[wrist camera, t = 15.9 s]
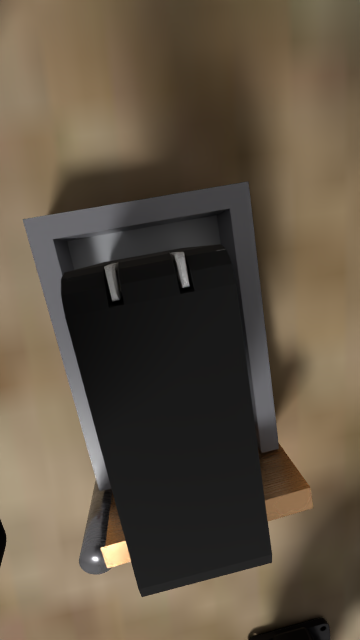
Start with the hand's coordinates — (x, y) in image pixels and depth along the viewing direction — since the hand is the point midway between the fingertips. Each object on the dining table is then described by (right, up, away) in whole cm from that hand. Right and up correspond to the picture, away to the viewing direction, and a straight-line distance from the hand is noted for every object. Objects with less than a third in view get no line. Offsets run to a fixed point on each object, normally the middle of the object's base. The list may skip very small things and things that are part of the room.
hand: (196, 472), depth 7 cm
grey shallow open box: (-1, +2, +11) cm, 11 cm away
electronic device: (-1, +2, +11) cm, 11 cm away
